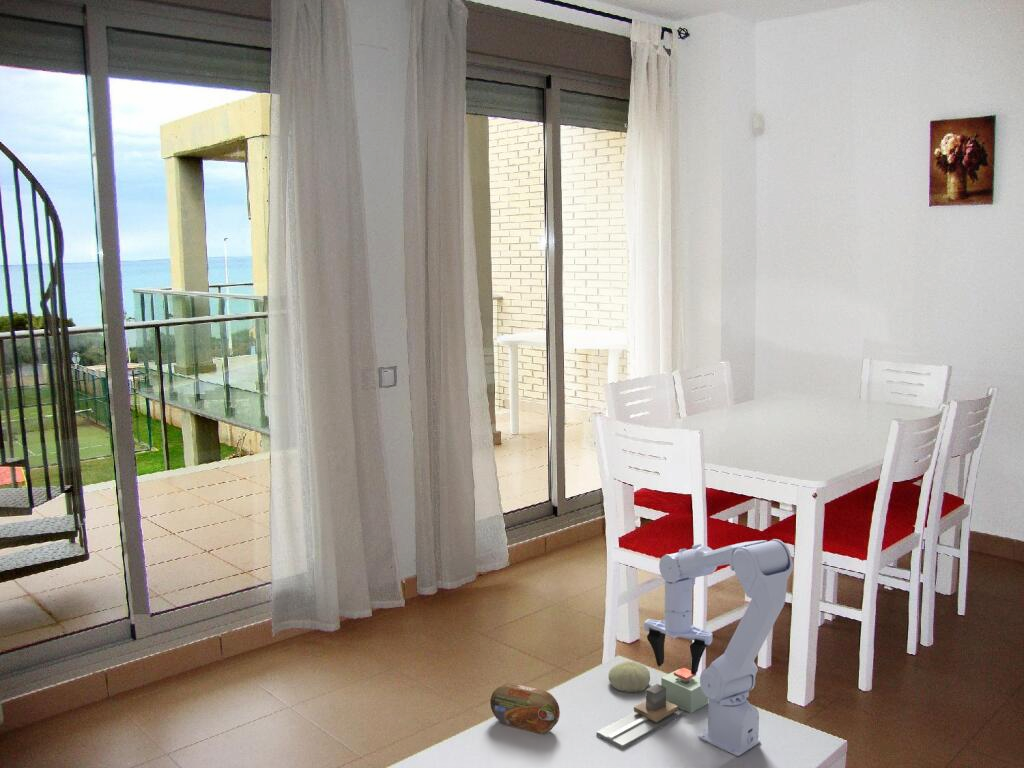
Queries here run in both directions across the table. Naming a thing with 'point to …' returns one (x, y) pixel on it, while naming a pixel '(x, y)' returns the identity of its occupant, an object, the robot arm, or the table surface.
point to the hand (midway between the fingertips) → (677, 668)
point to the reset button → (684, 675)
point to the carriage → (656, 704)
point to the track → (633, 728)
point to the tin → (525, 708)
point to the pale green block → (684, 692)
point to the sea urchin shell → (629, 676)
